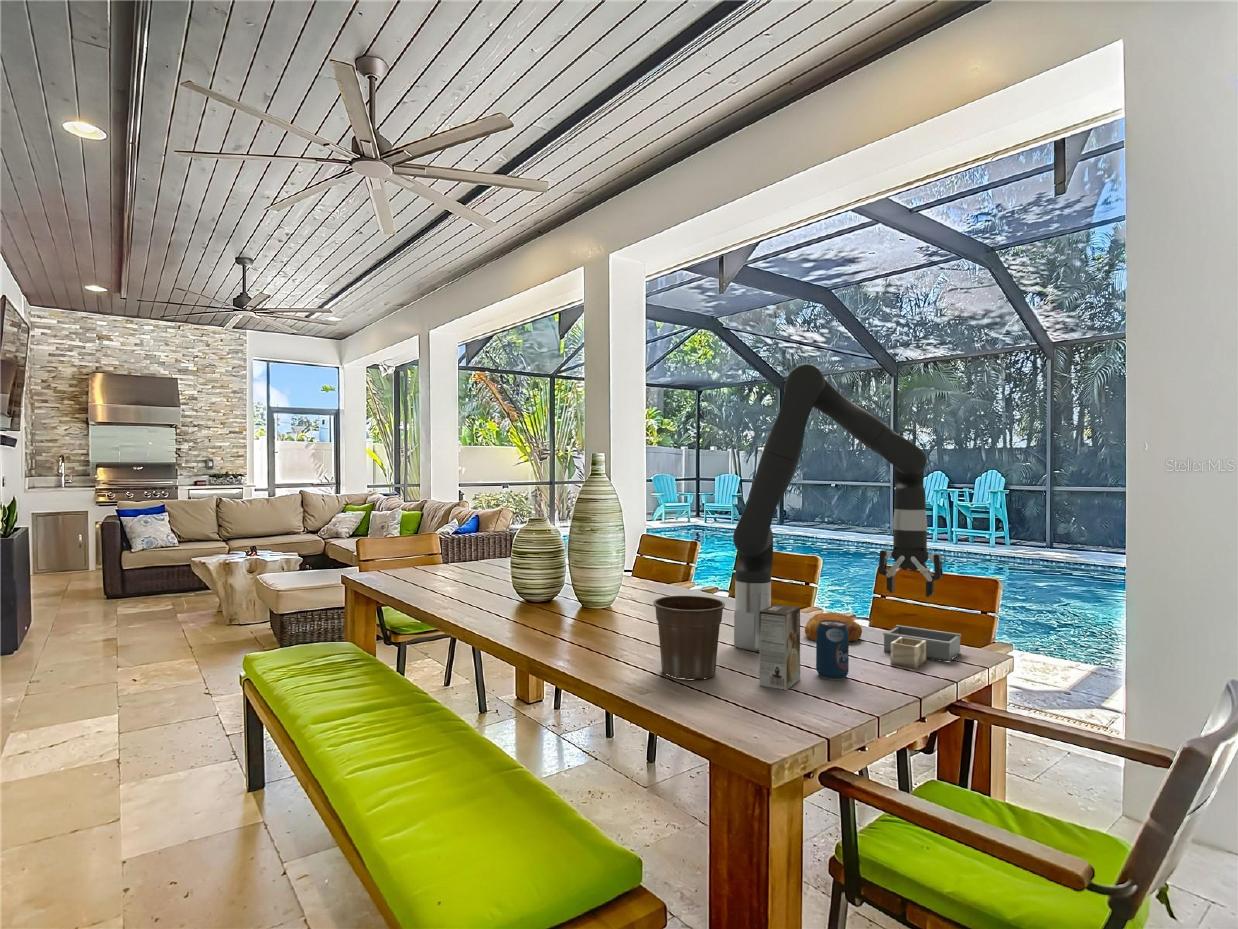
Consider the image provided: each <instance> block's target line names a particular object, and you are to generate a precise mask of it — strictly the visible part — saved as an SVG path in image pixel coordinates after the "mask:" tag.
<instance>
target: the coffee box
mask: <svg viewBox="0 0 1238 929" xmlns="http://www.w3.org/2000/svg"><path fill="white" fill-rule="evenodd" d="M758 654H759V659H758V660H759V667H758V668H759V670H758V672H759V673H758V675H759V677H758V680H759V682H758V683H759V686H760V685H762V686H761V687H766V686H767V687H768V688H772V689H777V688H779V689H778V690H782V689H784V690H783V691H788V690H790V688H791V687H792V685H793V686H794V685H795V684H796V683H797V682H798V681H800V680H801V607H799V606H790V605H781V604H771V606H770V607H767V608H765V609H763V610H761V611H759V650H758Z"/></svg>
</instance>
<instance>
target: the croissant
mask: <svg viewBox="0 0 1238 929" xmlns="http://www.w3.org/2000/svg"><path fill="white" fill-rule="evenodd" d="M823 620H835V621H841V622H844V623H846V627H847V629H848V632H849V642H851V641H852V642H854V641H858V640H859V639H861V637H862V634H863V628H862V626H861V625H860V624H859V623H857V622H856V621H855V620H854V619H853V618H852V617H851V616H849V615H847V614H843V613H839V612H822V613H816V614H815V615H813V616H812V617H810V618H809V620H808V621H807V622H806V625H805V626H804V634H805V635H806V637H807V638H809V639H810V640H812V641H815V642H816V629H817V627H818V626H819V622H820V621H823Z"/></svg>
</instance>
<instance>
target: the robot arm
mask: <svg viewBox="0 0 1238 929" xmlns="http://www.w3.org/2000/svg"><path fill="white" fill-rule="evenodd" d="M822 372H823V371H821V369H819V367H817V366H816V365H813V364H811V363H802V364H799V365H797V366H796V367H794V368H792V370H790V372H789V373H788V375H787V378H786V382H785V387H784V393H783V396H782V401H781V405H780V408H779V412H778V414H777V417H776V419H775V422H774V424H773V426H772V428H771V430H770V432H769V436H768V437H767V440H766V442H765V445H764V448H763V451H762V453H761V457H760V459H759V463H758V466H757V469H756V472H755V476H754V479H753V483H752V486H751V489H750V490H751V491H750V494H749V498H748V501H747V502H746V505H745V508H744V509H743V512H742V514H741V517H740V518H739V520H738V523H737V525H736V526H735V529H734V531H733V536H732V538H733V544H734V546H735V547H734V548H735V549H736V550H737V551H738V553H737V554H738V556H737V564H736V568H735V570H734V571H735V572H734V573H735V579H734V580H735V582H734V583H735V584H734V585H735V589H734V590H735V591H734V600H735V602H734V604H735V605H734V612H733V616H734V617H733V618H734V620H733V647H734V648H736V647H738V648H737V649H741V648H742V649H743V650H747V651H752V652H757V651H759V611H761V610H763V609H765V608H767V607H770V606H772V604H771V603H772V571H773V565H774V564H773V563H774V562H773V561H774V535H773V531H772V527H771V526H772V521H773V518H774V515H775V512H776V509H777V507H778V506H779V503H780V501H781V499H782V498H783V497H784V495H785V492H787V489H788V487H789V485H790V483H791V481H792V479H793V476H794V475H795V472H796V469H797V465H798V463H799V460H800V457H801V453H802V449H803V444H804V439H805V438H804V437H805V432H806V427H807V424H808V420H809V416H810V414H811V413H812V409H813V408H815V409H816V410H818V411H820V412H822V413H823V414H824V415H826V416H828V417H829V418H830V419H831V420H833V421H834V422H835V423H837V424H838V425H840V427H841V428H843V429H844V430H845V431H846V433H849V434H850V435H851V436H852V437H854V438H855V439H856V440H858V441H859V442H860V443H861V444H863V445H864V446H865V447H867V449H869V450H871V451H872V452H874V453H876V454H878V455H880V456H881V457H882V458H883V459H884V460H886V461H887V462H888V463H889V464H891V465H892V466H893V474H894V475H893V476H894V486H895V487H894V495H893V496H894V503H893V504H894V510H893V511H894V512H893V521H892V523H893V524H892V525H893V527H892V530H893V531H892V532H893V535H892V536H893V540H892V541H893V542H892V544H893V545H892V546H893V547H892V550H887V549H881V550H880V551H879V560H878V574H879V575H883V576H884V577H885V578H886V590H887V591H888V593H890V594H893V593H895V592H896V591H895V588H896V585H895V582H896V580H895V579H896V578H895V575H896V574H897V572H898V571H899V570H900V569H901V570H910V571H919V573H920V574H921V575H923V576H924V578H925V579H926V581H925V597H926V598H931V597H932V595H934V594H935V581H937V580H938V581H939V580H941V579H942V578H943V576H944V574H943V573H944V572H943V557H942V554H941V553H929V551H928V520H927V519H928V518H927V512H926V511H927V510H926V507H927V506H926V503H927V502H926V501H927V500H926V499H927V498H926V490H925V487H924V481H925V480H924V475H925V474H924V473H925V468H926V465H927V462H928V461H927V455H926V453H925V452H924V451H923V450H922V449H921V448H920V447H919V446H918V445H916V444H914V443H913V442H911V441H910V440H908V439H906V438H905V437H903V436H902V435H900V434H898V433H897V432H896V431H894V429H892V428H891V427H890V426H888V425H887V424H886V423H884V422H883V421H882V420H880V419H879V418H877V417H876V416H875V415H873V414H872V413H870V412H869V411H867V410H866V409H864V408H863V407H861V406H859V405H857V404H855V403H854V402H852V401H851V400H849V399H848V398H847V397H845V396H844V395H842V393H840V392H839V391H837V390H836V389H835V387H833V386H832V385H831V383H829V381H827V379H826V378H825V376H824V374H823V373H822ZM890 558H892V559H893V560H894V563H893V565H891V567H890V569H889V570H888V568H887V567H888V560H889V559H890ZM928 560H930V562H931V564H933V567H934V568H933V569H934V574H933V573H932V571H931V570H930V568H929V567H928V566H927V564H926V563H927V561H928Z"/></svg>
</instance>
